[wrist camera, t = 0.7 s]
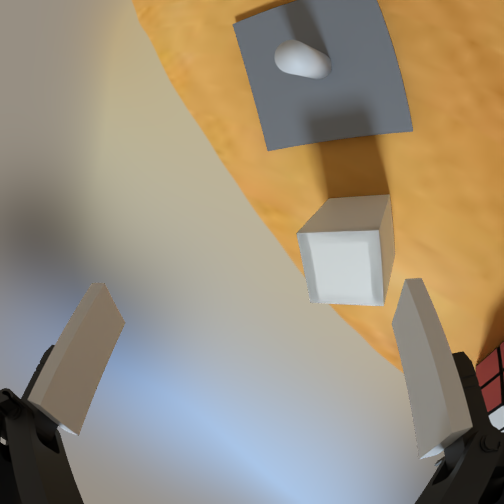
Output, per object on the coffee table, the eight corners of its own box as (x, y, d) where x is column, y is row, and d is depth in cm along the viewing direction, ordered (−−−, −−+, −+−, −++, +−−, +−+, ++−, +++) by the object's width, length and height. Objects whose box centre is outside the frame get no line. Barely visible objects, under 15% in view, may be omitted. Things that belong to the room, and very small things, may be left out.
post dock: (238, 26, 28) (193, 14, 22) (371, -13, 19) (355, -46, 13) (272, 149, 34) (234, 163, 28) (413, 130, 25) (413, 138, 19)
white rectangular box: (328, 198, 33) (296, 233, 26) (389, 194, 29) (378, 230, 22) (338, 254, 36) (310, 302, 28) (395, 254, 32) (383, 306, 24)
